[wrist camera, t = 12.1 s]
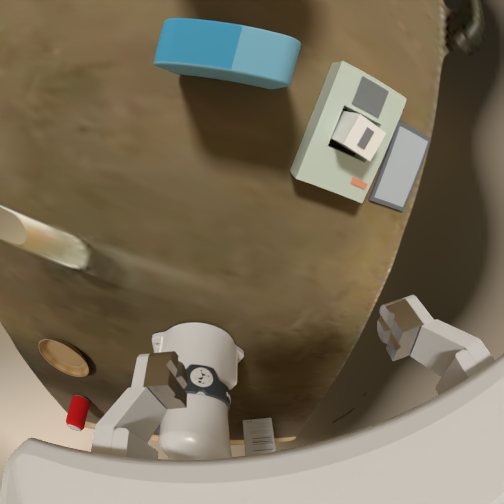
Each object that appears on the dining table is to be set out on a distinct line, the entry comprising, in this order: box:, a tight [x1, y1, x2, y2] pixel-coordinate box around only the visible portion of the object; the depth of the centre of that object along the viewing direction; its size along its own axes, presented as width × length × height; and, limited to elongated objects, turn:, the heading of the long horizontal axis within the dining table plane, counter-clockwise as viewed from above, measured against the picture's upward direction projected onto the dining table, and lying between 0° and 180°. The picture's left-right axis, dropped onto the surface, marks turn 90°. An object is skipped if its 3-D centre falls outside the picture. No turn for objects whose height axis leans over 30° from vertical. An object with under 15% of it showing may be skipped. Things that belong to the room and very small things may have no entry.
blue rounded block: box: [154, 18, 301, 89], centre depth 22 cm, size 12×4×12 cm, turn 77°
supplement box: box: [243, 418, 276, 456], centre depth 69 cm, size 10×9×17 cm
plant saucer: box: [39, 338, 89, 377], centre depth 52 cm, size 15×15×3 cm
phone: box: [369, 121, 431, 212], centre depth 35 cm, size 13×7×1 cm, turn 166°
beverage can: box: [66, 395, 90, 431], centre depth 61 cm, size 6×6×12 cm
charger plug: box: [331, 110, 386, 161], centre depth 29 cm, size 4×4×7 cm
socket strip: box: [290, 61, 407, 203], centre depth 31 cm, size 16×10×4 cm, turn 161°
